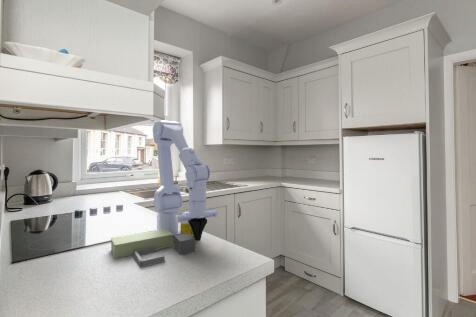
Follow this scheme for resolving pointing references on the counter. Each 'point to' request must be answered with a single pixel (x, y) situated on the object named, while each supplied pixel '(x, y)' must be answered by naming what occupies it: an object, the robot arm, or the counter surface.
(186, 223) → the supplement bottle
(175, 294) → the counter surface
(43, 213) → the counter surface
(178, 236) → the chute block
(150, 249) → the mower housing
